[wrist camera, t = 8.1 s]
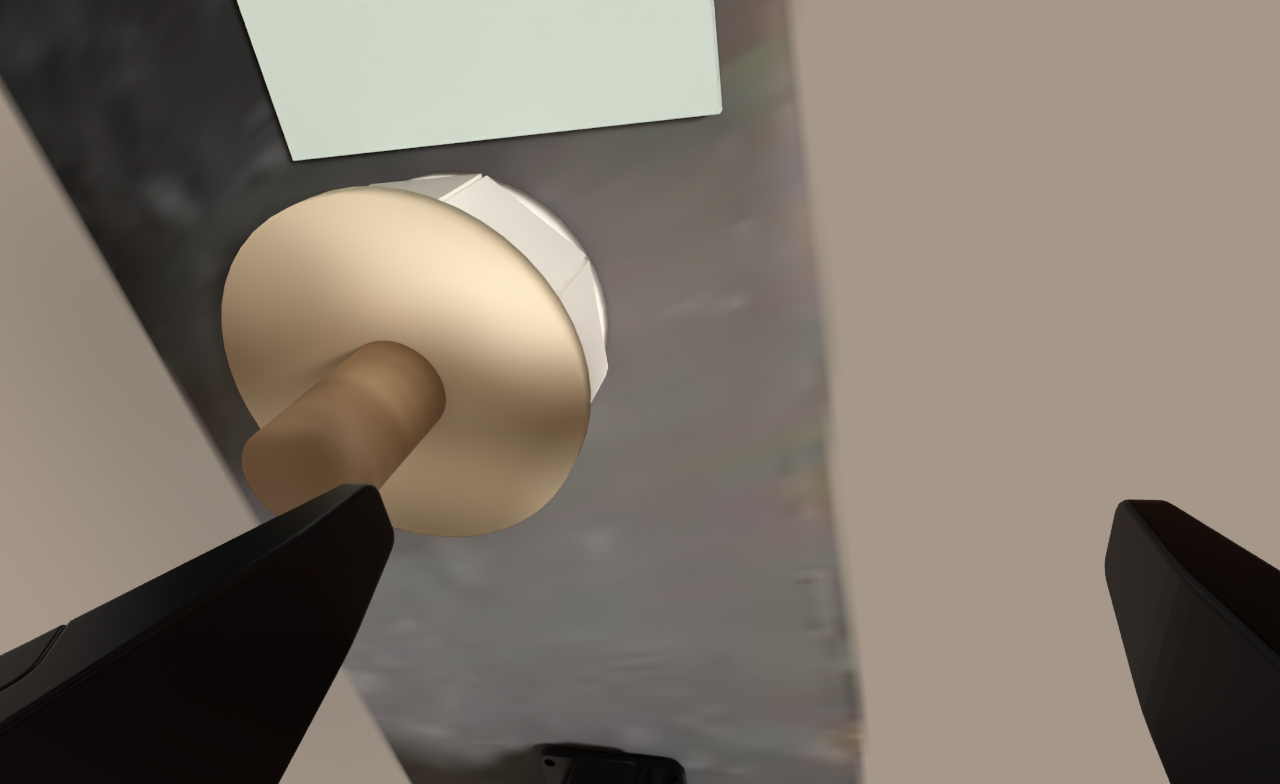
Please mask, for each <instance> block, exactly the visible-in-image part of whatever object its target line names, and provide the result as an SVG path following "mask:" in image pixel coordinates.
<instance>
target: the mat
mask: <svg viewBox="0 0 1280 784" xmlns="http://www.w3.org/2000/svg"><path fill="white" fill-rule="evenodd" d="M237 2H238V5H239V8H240V11H241V14H242V17H243V19H244V22H245V25H246V28H247V31H248V34H249V36H250V39H251V42H252V45H253V48H254V51H255V53H256V56H257V59H258V62H259V65H260V68H261V71H262V73H263V76H264V79H265V82H266V85H267V88H268V90H269V93H270V96H271V99H272V102H273V105H274V108H275V110H276V113H277V116H278V119H279V122H280V125H281V127H282V130H283V133H284V136H285V139H286V142H287V144H288V147H289V150H290V153H291V156H292V159H293V161H296V160H305V159H314V158H323V157H332V156H341V155H351V154H360V153H369V152H378V151H387V150H396V149H405V148H414V147H423V146H432V145H441V144H450V143H460V142H469V141H478V140H487V139H496V138H505V137H514V136H523V135H532V134H541V133H550V132H559V131H568V130H578V129H587V128H596V127H605V126H614V125H623V124H632V123H641V122H650V121H659V120H668V119H677V118H687V117H696V116H705V115H714V114H720V112H721V111H722V99H721V86H720V73H719V61H718V48H717V35H716V22H715V9H714V0H237Z"/></svg>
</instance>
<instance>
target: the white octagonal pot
mask: <svg viewBox="0 0 1280 784" xmlns="http://www.w3.org/2000/svg"><path fill="white" fill-rule="evenodd" d="M369 186H381V187H389V188H397V189H404V190H408V191H412V192H416V193H419V194H423V195H427V196H431V197H433V198H436V199H438V200H440V201H443V202H445V203H448V204H450V205H453V206H455V207H457V208H459V209H461V210H463V211H465V212H466V213H468V214H470V215H472V216H474V217H476V218H477V219H479V220H481V221H482V222H484V223H485V224H487V225H488V226H489V227H491V228H492V229H494V230H495V231H497V232H498V233H499V234H501V235H502V236H504V237H505V238H506V239H507V240H508V241H509V242H510V243H512V244H513V245H514V246H515V247H516V248H517V249H518V250H519V251H521V252H522V253H523V254H524V255H525V256H526V257H527V258H528V259H529V260H530V261H531V263H532V264H533V265H534V266H535V267H536V268H537V269H538V270H539V272H540V273H541V274H542V275H543V276H544V277H545V278H546V280H547V281H548V283H549V284H550V286H551V287H552V288H553V290H554V291H555V293H556V294H557V295H558V297H559V298H560V300H561V301H562V303H563V305H564V307H565V309H566V311H567V312H568V314H569V316H570V318H571V320H572V322H573V324H574V326H575V329H576V331H577V334H578V336H579V339H580V341H581V344H582V346H583V350H584V354H585V358H586V362H587V366H588V370H589V379H590V388H591V402H592V400H593V398H594V396H595V395H596V393H597V391H598V389H599V387H600V385H601V383H602V382H603V380H604V378H605V376H606V374H607V373H606V372H607V370H608V364H607V358H606V352H605V351H606V345H607V340H608V316H607V306H606V301H605V297H604V293H603V289H602V286H601V283H600V280H599V278H598V275H597V273H596V270H595V268H594V266H593V264H592V262H591V260H590V258H589V257H588V255H587V253H586V251H585V250H584V248H583V247H582V245H581V244H580V243H579V241H578V240H577V238H576V237H575V236H574V234H573V233H572V232H571V231H570V230H569V229H568V227H567V226H566V225H565V224H564V223H563V222H562V221H561V220H560V219H559V218H558V217H557V216H556V215H555V214H554V213H552V212H551V211H550V210H549V209H548V208H547V207H546V206H544V205H543V204H541V203H540V202H539V201H537V200H536V199H534V198H533V197H532V196H530V195H528V194H527V193H525V192H523V191H521V190H519V189H517V188H516V187H514V186H512V185H509V184H507V183H504V182H502V181H499V180H497V179H494V178H490V177H488V176H482V175H481V174H474V173H465V172H457V171H455V172H435V173H430V174H424V175H420V176H417V177H414V178H411V179H408V180H405V181H399V182H389V183H378V184H371V185H369Z"/></svg>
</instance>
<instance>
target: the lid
mask: <svg viewBox="0 0 1280 784" xmlns="http://www.w3.org/2000/svg"><path fill="white" fill-rule="evenodd" d="M222 333H223V341H224V348H225V352H226V355H227V359H228V363H229V367H230V370H231V373H232V375H233V378H234V380H235V383H236V386H237V388H238V390H239V392H240V394H241V396H242V398H243V400H244V402H245V404H246V406H247V408H248V410H249V412H250V413H251V415H252V416H253V418H254V419H255V421H256V423H257V424H258V426H259V427H260V430H259V431H258V432H257V433H255V434H254V435H253V436H252V437H251V438H250V439H249V440H248V441H247V442H246V444H245V446H244V448H243V452H242V469H243V472H244V475H245V478H246V480H247V482H248V484H249V486H250V488H251V490H252V491H253V492H254V494H255V495H256V496H257V498H258V499H259V500H260V501H261V502H262V503H263V504H264V505H265V506H266V507H267V508H268V509H269V510H270V511H271V512H273V513H274V514H275V515H277V516H279V515H281V514H283V513H285V512H287V511H289V510H291V509H293V508H295V507H297V506H299V505H301V504H303V503H305V502H307V501H309V500H311V499H313V498H315V497H317V496H319V495H321V494H323V493H325V492H327V491H329V490H331V489H333V488H335V487H337V486H339V485H341V484H344V483H370V484H372V485H374V486H375V487H376V488H377V489H378V490H379V492H380V495H381V497H382V500H383V503H384V505H385V508H386V511H387V513H388V516H389V519H390V521H391V524H392V527H395V528H399V529H402V530H405V531H410V532H415V533H419V534H424V535H432V536H442V537H468V536H475V535H483V534H488V533H491V532H495V531H499V530H503V529H505V528H508V527H510V526H512V525H515V524H517V523H519V522H521V521H523V520H525V519H526V518H528V517H529V516H531V515H533V514H534V513H536V512H537V511H538V510H539V509H541V508H542V507H543V506H544V505H545V504H546V503H547V502H549V501H550V500H551V498H552V497H553V496H554V495H555V494H556V492H557V491H558V490H559V489H560V487H561V486H562V485H563V483H564V481H565V479H566V477H567V476H568V474H569V472H570V470H571V468H572V466H573V465H574V463H575V461H576V459H577V457H578V455H579V453H580V450H581V448H582V445H583V442H584V439H585V437H586V434H587V429H588V423H589V418H590V409H591V388H590V379H589V370H588V366H587V362H586V358H585V354H584V350H583V346H582V344H581V341H580V339H579V336H578V334H577V331H576V329H575V326H574V324H573V322H572V320H571V318H570V316H569V314H568V312H567V311H566V309H565V307H564V305H563V303H562V301H561V300H560V298H559V297H558V295H557V294H556V293H555V291H554V290H553V288H552V287H551V286H550V284H549V283H548V281H547V280H546V278H545V277H544V276H543V275H542V274H541V273H540V272H539V270H538V269H537V268H536V267H535V266H534V265H533V264H532V263H531V261H530V260H529V259H528V258H527V257H526V256H525V255H524V254H523V253H522V252H521V251H519V250H518V249H517V248H516V247H515V246H514V245H513V244H512V243H510V242H509V241H508V240H507V239H506V238H505V237H504V236H502V235H501V234H499V233H498V232H497V231H495V230H494V229H492V228H491V227H489V226H488V225H487V224H485V223H484V222H482V221H481V220H479V219H477V218H476V217H474V216H472V215H470V214H468V213H466V212H465V211H463V210H461V209H459V208H457V207H455V206H453V205H450V204H448V203H445V202H443V201H440V200H438V199H436V198H433V197H431V196H427V195H423V194H419V193H416V192H412V191H408V190H404V189H397V188H389V187H381V186H359V187H349V188H343V189H337V190H331V191H328V192H325V193H322V194H320V195H317V196H314V197H311V198H309V199H306V200H304V201H302V202H300V203H297V204H295V205H293V206H291V207H288V208H287V209H285V210H283V211H281V212H280V213H278V214H276V215H274V216H272V217H271V218H269V219H268V220H267V221H266V222H264V223H263V224H262V225H261V226H260V227H259V228H257V229H256V230H255V231H254V232H253V233H252V234H251V236H250V237H249V238H248V239H247V240H246V242H245V243H244V244H243V245H242V247H241V248H240V250H239V252H238V254H237V256H236V257H235V259H234V261H233V263H232V265H231V268H230V271H229V274H228V277H227V280H226V283H225V287H224V293H223V300H222Z"/></svg>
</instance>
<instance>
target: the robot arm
mask: <svg viewBox="0 0 1280 784" xmlns="http://www.w3.org/2000/svg"><path fill="white" fill-rule="evenodd" d="M393 544H394V530H393V527H392V524H391V521H390V519H389V516H388V513H387V511H386V508H385V505H384V503H383V500H382V497H381V495H380V492H379V490H378V489H377V488H376V487H375V486H374V485H372V484H370V483H344V484H341V485H339V486H337V487H335V488H333V489H331V490H329V491H327V492H325V493H323V494H321V495H319V496H317V497H315V498H313V499H311V500H309V501H307V502H305V503H303V504H301V505H299V506H297V507H295V508H293V509H291V510H289V511H287V512H285V513H283V514H281V515H279V516H277V517H275V518H273V519H272V520H270V521H268V522H266V523H264V524H262V525H260V526H258V527H256V528H254V529H252V530H250V531H248V532H246V533H244V534H242V535H240V536H238V537H236V538H234V539H232V540H230V541H228V542H226V543H224V544H222V545H220V546H218V547H216V548H214V549H212V550H210V551H208V552H206V553H204V554H202V555H200V556H198V557H196V558H194V559H192V560H190V561H188V562H186V563H184V564H182V565H180V566H178V567H176V568H174V569H172V570H170V571H168V572H166V573H164V574H162V575H161V576H158V577H156V578H154V579H152V580H150V581H148V582H146V583H144V584H142V585H140V586H138V587H137V588H134V589H133V590H131V591H129V592H127V593H124V594H123V595H121V596H119V597H117V598H115V599H113V600H111V601H109V602H107V603H105V604H103V605H101V606H99V607H97V608H95V609H93V610H91V611H89V612H87V613H85V614H83V615H81V616H79V617H77V618H75V619H73V620H71V621H70V622H69V623H68V624H67V625H61V626H59V627H57V628H55V629H53V630H51V631H49V632H47V633H45V634H43V635H41V636H39V637H37V638H35V639H33V640H31V641H29V642H27V643H25V644H23V645H21V646H19V647H17V648H15V649H13V650H11V651H8V652H6V653H4V654H2V655H0V784H279V782H280V780H281V778H282V776H283V774H284V772H285V771H286V769H287V767H288V765H289V763H290V761H291V759H292V757H293V756H294V754H295V752H296V750H297V748H298V746H299V744H300V742H301V741H302V739H303V737H304V735H305V733H306V731H307V729H308V727H309V726H310V724H311V722H312V720H313V718H314V716H315V714H316V712H317V711H318V709H319V707H320V705H321V703H322V701H323V699H324V697H325V695H326V694H327V692H328V690H329V688H330V686H331V684H332V682H333V680H334V679H335V677H336V675H337V673H338V671H339V669H340V667H341V666H342V664H343V662H344V660H345V658H346V656H347V654H348V652H349V650H350V648H351V646H352V644H353V642H354V639H355V637H356V635H357V633H358V630H359V628H360V626H361V623H362V621H363V618H364V616H365V614H366V611H367V609H368V606H369V604H370V602H371V599H372V597H373V594H374V592H375V589H376V587H377V585H378V582H379V580H380V577H381V575H382V573H383V570H384V568H385V565H386V563H387V560H388V558H389V556H390V553H391V551H392V548H393ZM1105 576H1106V581H1107V585H1108V589H1109V593H1110V597H1111V600H1112V604H1113V608H1114V611H1115V615H1116V619H1117V622H1118V626H1119V630H1120V633H1121V637H1122V641H1123V645H1124V648H1125V652H1126V656H1127V660H1128V663H1129V667H1130V671H1131V674H1132V678H1133V682H1134V685H1135V689H1136V693H1137V696H1138V699H1139V703H1140V706H1141V709H1142V713H1143V715H1144V718H1145V721H1146V724H1147V726H1148V729H1149V732H1150V734H1151V737H1152V739H1153V742H1154V744H1155V747H1156V749H1157V751H1158V754H1159V757H1160V759H1161V762H1162V764H1163V767H1164V769H1165V772H1166V774H1167V776H1168V779H1169V782H1170V784H1280V570H1278V569H1277V568H1275V567H1273V566H1272V565H1270V564H1268V563H1267V562H1265V561H1264V560H1262V559H1260V558H1259V557H1257V556H1256V555H1254V554H1252V553H1251V552H1249V551H1247V550H1246V549H1244V548H1243V547H1241V546H1239V545H1238V544H1236V543H1234V542H1233V541H1231V540H1230V539H1228V538H1226V537H1225V536H1223V535H1221V534H1220V533H1218V532H1216V531H1215V530H1213V529H1211V528H1210V527H1208V526H1207V525H1205V524H1203V523H1202V522H1200V521H1199V520H1197V519H1195V518H1194V517H1192V516H1191V515H1189V514H1187V513H1186V512H1184V511H1183V510H1181V509H1179V508H1178V507H1176V506H1174V505H1172V504H1171V503H1169V502H1167V501H1163V500H1129V499H1128V500H1124V501H1122V502H1121V503H1119V505H1118V507H1117V509H1116V511H1115V515H1114V520H1113V524H1112V529H1111V534H1110V538H1109V543H1108V548H1107V552H1106V557H1105ZM539 762H540V766H541V769H542V772H543V775H544V778H545V781H546V784H687V780H686V774H685V770H684V768H683V767H682V766H681V765H680V764H678V763H675V762H670V761H661V760H653V759H644V758H636V757H627V756H619V755H610V754H602V753H593V752H585V751H576V750H568V749H559V748H551V747H549V748H544V749H543V750H542V753H541V755H540V758H539Z"/></svg>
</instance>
